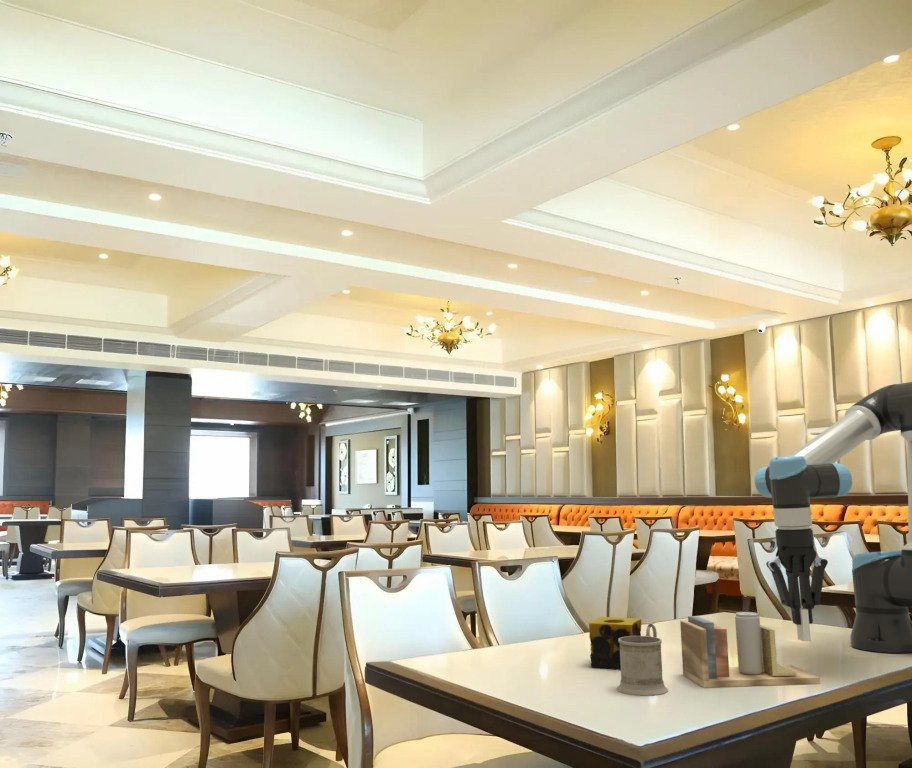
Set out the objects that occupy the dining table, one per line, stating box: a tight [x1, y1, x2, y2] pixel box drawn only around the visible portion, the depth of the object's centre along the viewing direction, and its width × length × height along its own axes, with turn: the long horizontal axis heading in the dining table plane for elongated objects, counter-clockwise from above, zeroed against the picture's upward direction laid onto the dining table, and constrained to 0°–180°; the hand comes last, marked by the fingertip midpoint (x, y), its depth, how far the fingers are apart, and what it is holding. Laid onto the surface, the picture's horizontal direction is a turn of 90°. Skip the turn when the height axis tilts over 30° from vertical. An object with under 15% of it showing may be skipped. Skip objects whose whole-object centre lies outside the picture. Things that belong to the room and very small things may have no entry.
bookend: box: [760, 624, 797, 676], centre depth 171 cm, size 5×9×9 cm, turn 4°
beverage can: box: [734, 611, 763, 675], centre depth 171 cm, size 5×5×12 cm
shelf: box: [679, 615, 821, 689], centre depth 171 cm, size 24×12×12 cm, turn 94°
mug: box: [616, 622, 669, 697], centre depth 165 cm, size 14×10×12 cm
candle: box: [588, 616, 642, 671], centre depth 187 cm, size 10×10×10 cm
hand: (804, 639), depth 175 cm, fingers closed
